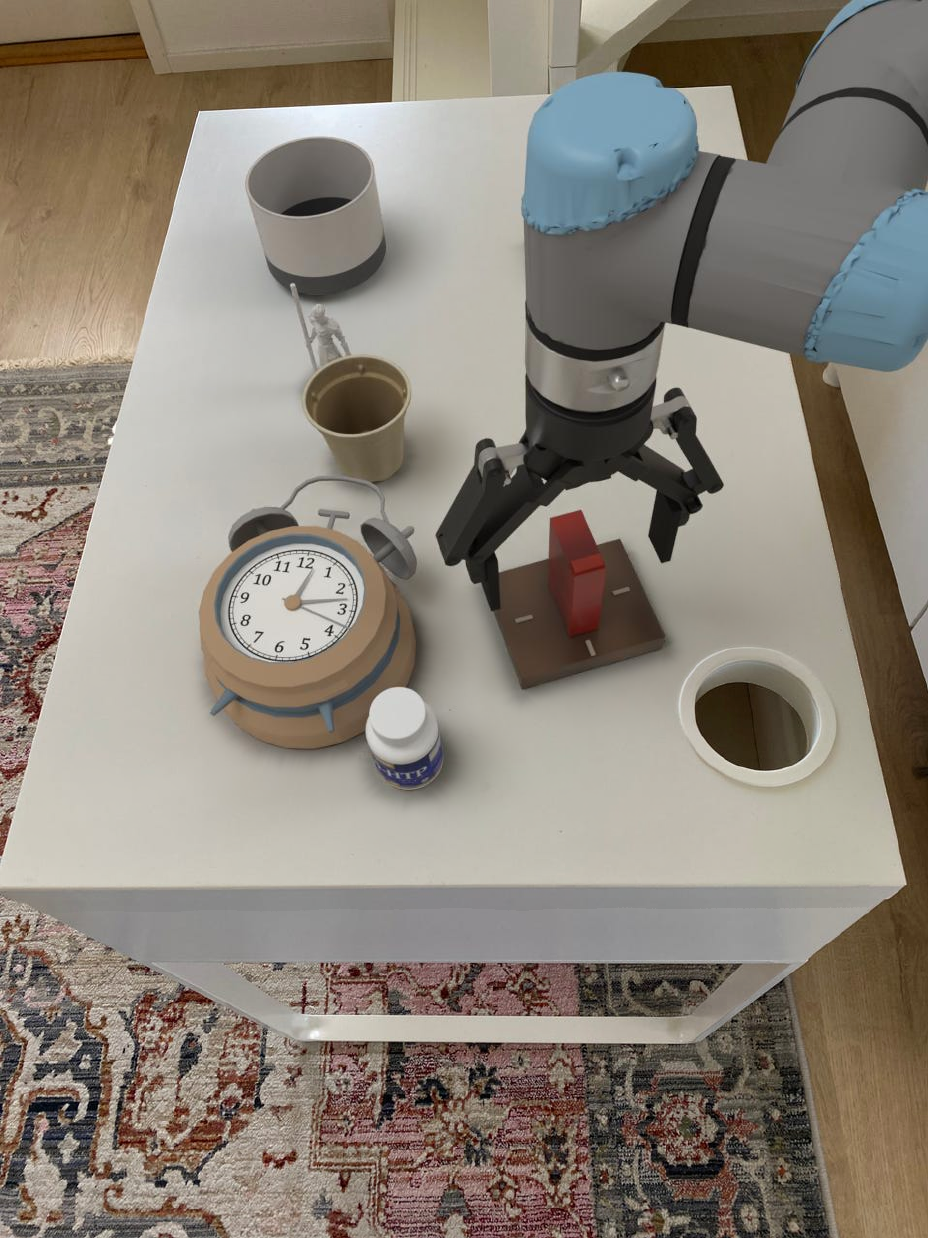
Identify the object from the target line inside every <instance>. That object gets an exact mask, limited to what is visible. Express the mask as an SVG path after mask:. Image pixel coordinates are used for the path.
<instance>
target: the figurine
mask: <svg viewBox="0 0 928 1238" xmlns="http://www.w3.org/2000/svg"><path fill="white" fill-rule="evenodd" d="M290 288H291V289H290V291H291V295H292V298H293V302H294V304H295V309H296V311H297V315H298V319H299V321H300V322H299V323H300V327H301V330H302V333H303V337H304V340H305V341H304V344H305V347H306V348H307V352H308V355H309V359H310V362H311V365H312V371H313V374H314V373H315V372H316V371H317V370H319V367H318V365H317V362H316V358H315V355H314V350H313V347H312V343H313V342H314V340H315V339H316V337H317V344H318V349H317V355H318V361H319V366H320V368H321V367H322V366H324V365H326V364H327V363H329V362H331V361H333V360H336V359H338V358H341V357H345V356H350V355H353V354H352V353H351V351H350V348H349V344H348V342H346V339H345V338H346V336H345V335H343V334H344V333H343V330H341V326H340V324H339V322H338V321H337V320H336V319H335V318H333V317H331V318H330V317H328V316H326V315H325V314H326V308H325V307H324V305H323V304H321V303H317V304H315V305H314V306H312V308H311V311H312V312H311V314H308V315H307V317H308V319H309V322H310V324H311V325H312V326H313V328H312V331H311V334H310V335H309V332H308V328H307V324H306V321H305V316H304V313H303V309H302V306H301V301H300V296H299V292H297V289H296V286H295V284H294V283H292V284H290ZM333 336H334V337H335V338H336V339H337V340H338V342H340V346H341V348H342V350H343V351H344V354H345V355H344V356H343V354H342V353H341V351H340V349H339V348H338V346H337V345H336V343H335V342H334V338H333Z"/></svg>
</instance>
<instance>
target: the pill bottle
mask: <svg viewBox="0 0 928 1238" xmlns="http://www.w3.org/2000/svg"><path fill="white" fill-rule="evenodd" d="M440 731H441V730H440V726H439V721H438V718H437V716H436V713H435V711H434V710H433V708H432V707H431V706H430V705H429V704H428V703H426V702H425V701H424V700H423V698H422V696H420V694H419V693H417V692H416V691H414V689H411V688H409V687H406V688H405V687H394V688H390V689H387V690H385V691H383V692H382V693H380V694H379V695H378V696H377V697H376V698H375V699H374V701H373V702H372V704H371V707H370V711H369V717H368V720H367V723H366V731H365V737H366V741H367V745H368V748H369V750H370V753H371V756H372V758H373V761H374V764H375V767H376V769H377V772H378V773H379V775H380V777H381V778H382V780H383V781H385V783H386V784H388V785H390V786H392V787H393V788H396V789H399V790H404V791H413V790H418V789H421V788H424V787H426V786H427V785H429V784H430V783H432V782H433V781H434V780H435V779H436V778H437V776H438V775H439V774H440V772H441V770H442V767H443V764H444V748H443V742H442V737H441V732H440Z"/></svg>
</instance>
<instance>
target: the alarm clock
mask: <svg viewBox="0 0 928 1238" xmlns="http://www.w3.org/2000/svg"><path fill="white" fill-rule="evenodd" d="M319 482H345V483H346V482H347V483H352V484H357V485H362V486H366V487H368V488H370V489H371V490H372V491H374V492H376V494H377V496H378V498H379V500H380V515H381V516H382V518H377V517H369V518H367V519H366V520H365V521H364V522H363V523H362V524H360V525H359V526H360V534H361V536H362V538H363V541H364V543H365V544H366V546H367V547H368V549H369V550H368V549H366V548H365V547H364V546H363V545H362V544H361V543H360V542H359V541H358V540H356V539H353V538H352V537H350V536H349V535H346V534H344V533H342V532H340V531H338V530H335V529H334V530H333V528H334V524H335V521H336V519H341V520H342V519H344V520H349V518H350V517H351V514H350V512H348V511H345V510H333V509H325V508H319V509H318V510H317V515H318V516H320V517H325V518H329V519H328V522H327V526H326V527H321V526H317V525H315V526H314V525H299V522H298V520H297V519H296V518H295V516H293V514H292V513H291V512H290V511H288V510H287V508H288V507H289V506H291V505H292V504H293V502H294V501H295V498H296V497H297V495H298V493H299V492H301V491H302V490H304V489H305V488H306V487H307V486H309V485H312V484H314V483H319ZM385 505H386V498H385V496H384V494H383V492H382V491H381V489H380V487H379V486H377V485H376V484H375V483H373V482H369V481H365V480H362V479H358V478H352V477H347V476H345V475H318V476H315V477H312V478H308V479H306V480H304V481H303V482H302V483H300V484H299V485H298V486H296V487H295V488H294V490H293V492H292V493H291V495H290V497H289V499H288V500H287V501H285V502H284V503H283V504H282V505H281V506H280V507H279V506H263V507H258V508H252V509H251V510H249V511H247V512H246V513H244V514H243V515H241V516H240V517H238V519H237V520H236V521H234V523H233V524H232V525H231V528H230V530H229V532H228V536H227V541H228V545H229V546H228V547H229V550H230V551H231V553H229V554H228V555H226V557H225V558H224V559H223V561H222V562H221V563H220V564H219V565H218V566H217V567H216V569H215V570H214V571H213V572H212V574H211V576H210V578H209V580H208V582H207V584H206V585H205V588H203V592H202V595H201V600H200V605H199V610H198V619H199V634H200V635H199V636H200V646H201V647H200V648H201V651H202V653H203V661H204V662H203V663H204V671H205V677H206V679H207V682H208V684H209V686H210V689H211V691H212V693H213V696H214V698H215V699H216V703H215V704H214V705H213V707H212V708H211V710H210V712H209V714H210V715H211V716H213V717H215V716H216V715H217V714H218V713H220V712H221V711H222V710H223V711H224V712H225V713H226V715H228V717H229V718H230V719H231V720H232V721H233V723H234V724H235V725H236V726H237V727H238V728H239V729H240V730H243V731H244V732H245V733H247V734H249V735H250V736H252V737H254V738H255V739H257V740H258V741H261V742H263V743H268V744H271V745H274V746H277V747H281V748H285V749H308V750H309V749H311V750H313V749H319V748H324V747H328V746H332V745H337V744H341V743H344V742H346V741H348V740H350V739H352V738H355V737H356V736H359V735H360V734H362V733H365V732H366V723H367V720H368V717H369V711H370V707H371V704H372V702H373V701H374V699H375V698H376V697H377V696H378V695H379V694H380V693H382V692H383V691H385V690H387V689H390V688H394V687H405V688H408V684H409V682H410V680H411V676H412V674H413V671H414V669H415V664H416V653H417V652H416V651H417V639H416V634H415V628H414V625H413V620H412V615H411V611H410V607H409V605H408V603H407V601H406V599H405V598H404V596H403V594H402V593H401V591H400V589H399V587H398V585H397V584H395V582H394V581H393V580H391V578H390V577H389V576H388V574H387V571H386V570H385V568H386V569H387V570H388V571H389V572H390V573H391V574H393V575H394V576H396V577H397V578H399V579H402V580H405V581H407V580H409V579H411V578H412V577H414V575H415V574H416V571H417V569H418V568H417V567H418V560H417V556H416V553H415V550H414V548H413V547H412V545H411V543H410V541H409V540H408V539H409V538H410V537H411V536H412V535H414V533H415V527H413V526H411V525H410V526H406V527H405V528H404V529H403V530H402V531H401V530H399V529H398V528H397V526H395V525H393V524H392V523H391V522H390V521H389V519H388V517H387V513H386V512H385V511H386V510H385ZM370 552H371V553H370Z"/></svg>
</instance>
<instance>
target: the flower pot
mask: <svg viewBox="0 0 928 1238" xmlns="http://www.w3.org/2000/svg"><path fill="white" fill-rule="evenodd" d="M411 400H412V385H411V382H410V379H409V377H408V375H407V374H406V372H405V371H404V370H403V368H401V366H399V365H398V364H396V363H395V362H394V361H392V360H389V359H387V358H385V357H382V356H378V355H374V354H366V353H365V354H363V353H362V354H361V353H360V354H352V355H350V356H345V355H344V356H343V357H341V358H338V359H336V360H333V361H331V362H329V363H327V364H326V365H324V366H322V367H321V366H320V367H319V368H318V370H317V371H316V372H315V373H314V372H313V374H312V375H311V376H310V378H309V379H308V381H307V382H306V383H305V386H304V388H303V390H302V395H301V407H302V411H303V414H304V416H305V417H306V419H307V421H308V422H309V423H310V424H311V426H313V427H314V428H315V430H317V431H318V432H319V433H320V434H321V435H322V436H323V438H324V441H325V442H326V445H327V447H328V449H329V450H330V452H331V454H332V457H333V458H334V460H335V462H336V464H337V467H338V469H339V470H340V471H341V473H342V474H343V476H347V477H352V478H358V479H362V480H365V481H369V482H371V483H373V482H378V481H379V482H380V481H385V480H387V479H389V478H391V477H392V476H393V475H394V474H396V472H397V471H398V470H399V469H400V467H401V466H402V464H403V462H404V457H405V449H404V448H405V445H404V442H405V440H404V439H405V416H406V414H407V411H408V409H409V406H410V404H411Z"/></svg>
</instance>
